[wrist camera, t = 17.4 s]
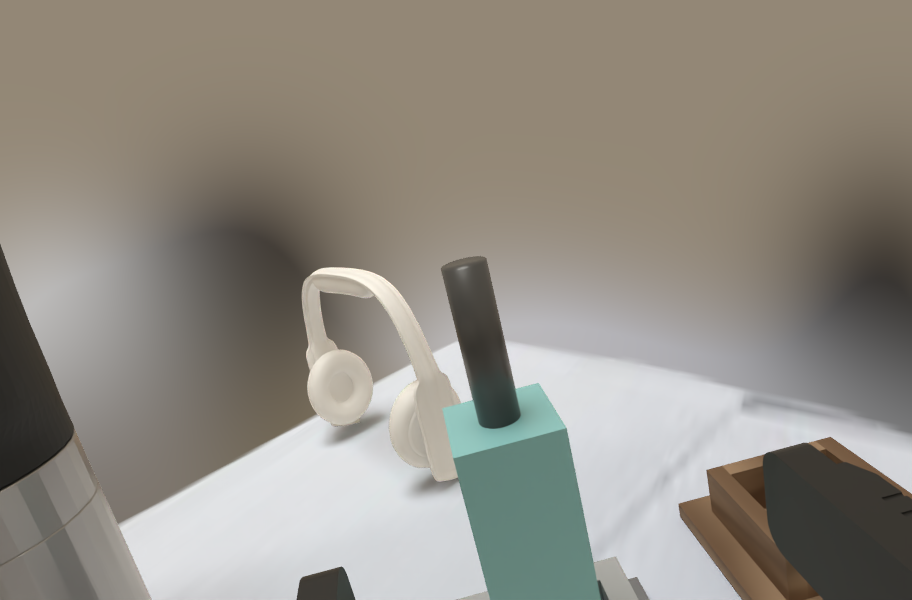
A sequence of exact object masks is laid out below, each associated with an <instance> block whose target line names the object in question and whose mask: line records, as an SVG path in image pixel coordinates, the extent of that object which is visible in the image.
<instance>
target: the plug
mask: <svg viewBox="0 0 912 600" xmlns="http://www.w3.org/2000/svg"><path fill="white" fill-rule="evenodd" d="M441 271H442V275H443V279H444V283H445V287H446V291H447V296H448V300H449V304H450V308H451V312H452V316H453V320H454V324H455V328H456V332H457V337H458V341H459V345H460V349H461V353H462V357H463V361H464V365H465V369H466V373H467V378H468V382H469V386H470V390H471V394H472V398H473V400H472V401H468V402H465V403H461V404H457V405H453V406H449V407H446V408H442V410H443V415H444V419H445V424H446V428H447V433H448V437H449V442H450V446H451V451H452V455H453V460H454V464H455V467H456V471H457V475H458V479H459V483H460V487H461V490H462V494H463V498H464V502H465V506H466V509H467V513H468V517H469V521H470V525H471V529H472V532H473V536H474V540H475V544H476V548H477V551H478V555H479V559H480V563H481V567H482V571H483V574H484V578H485V582H486V586H487V590H488V593H489V597H490V600H601V597H600V593H599V588H598V583H597V578H596V573H595V568H594V563H593V558H592V553H591V548H590V543H589V538H588V533H587V528H586V523H585V518H584V513H583V508H582V503H581V498H580V493H579V488H578V483H577V478H576V473H575V468H574V463H573V458H572V453H571V448H570V443H569V438H568V433H567V428H566V427H565V425H564V423H563V422H562V420H561V418H560V417H559V415H558V414H557V412H556V410H555V409H554V407H553V406H552V404H551V402H550V401H549V399H548V397H547V396H546V394H545V393H544V391H543V389H542V388H541V386H540V385H539V383H537V384H533V385H529V386H525V387H521V388H518V389H515V385H514V381H513V376H512V372H511V367H510V363H509V358H508V354H507V349H506V345H505V340H504V336H503V331H502V327H501V322H500V318H499V313H498V309H497V305H496V300H495V295H494V291H493V286H492V282H491V277H490V273H489V268H488V264H487V260H486V258H485V257H481V256H480V257H479V256H477V257H468V258H463V259H459V260H456V261H453V262H450V263H448V264H446V265H444V266H443V267H442V268H441Z"/></svg>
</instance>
